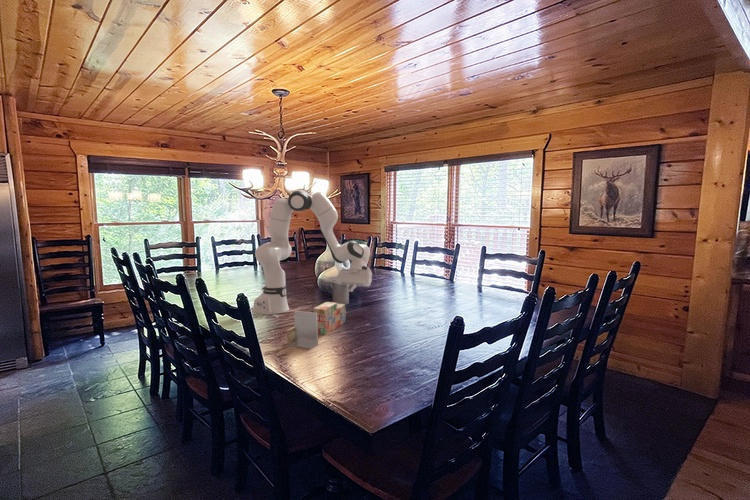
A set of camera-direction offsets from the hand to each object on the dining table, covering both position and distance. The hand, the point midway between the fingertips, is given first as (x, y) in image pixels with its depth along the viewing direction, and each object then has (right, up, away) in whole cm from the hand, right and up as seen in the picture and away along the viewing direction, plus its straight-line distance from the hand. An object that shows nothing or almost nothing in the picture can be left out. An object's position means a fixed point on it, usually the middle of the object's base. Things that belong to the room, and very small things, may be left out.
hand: (349, 291), depth 213 cm
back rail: (-17, -16, -28) cm, 37 cm away
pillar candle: (-7, -10, +24) cm, 27 cm away
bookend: (-17, -19, -45) cm, 51 cm away
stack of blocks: (-8, -16, -20) cm, 27 cm away
